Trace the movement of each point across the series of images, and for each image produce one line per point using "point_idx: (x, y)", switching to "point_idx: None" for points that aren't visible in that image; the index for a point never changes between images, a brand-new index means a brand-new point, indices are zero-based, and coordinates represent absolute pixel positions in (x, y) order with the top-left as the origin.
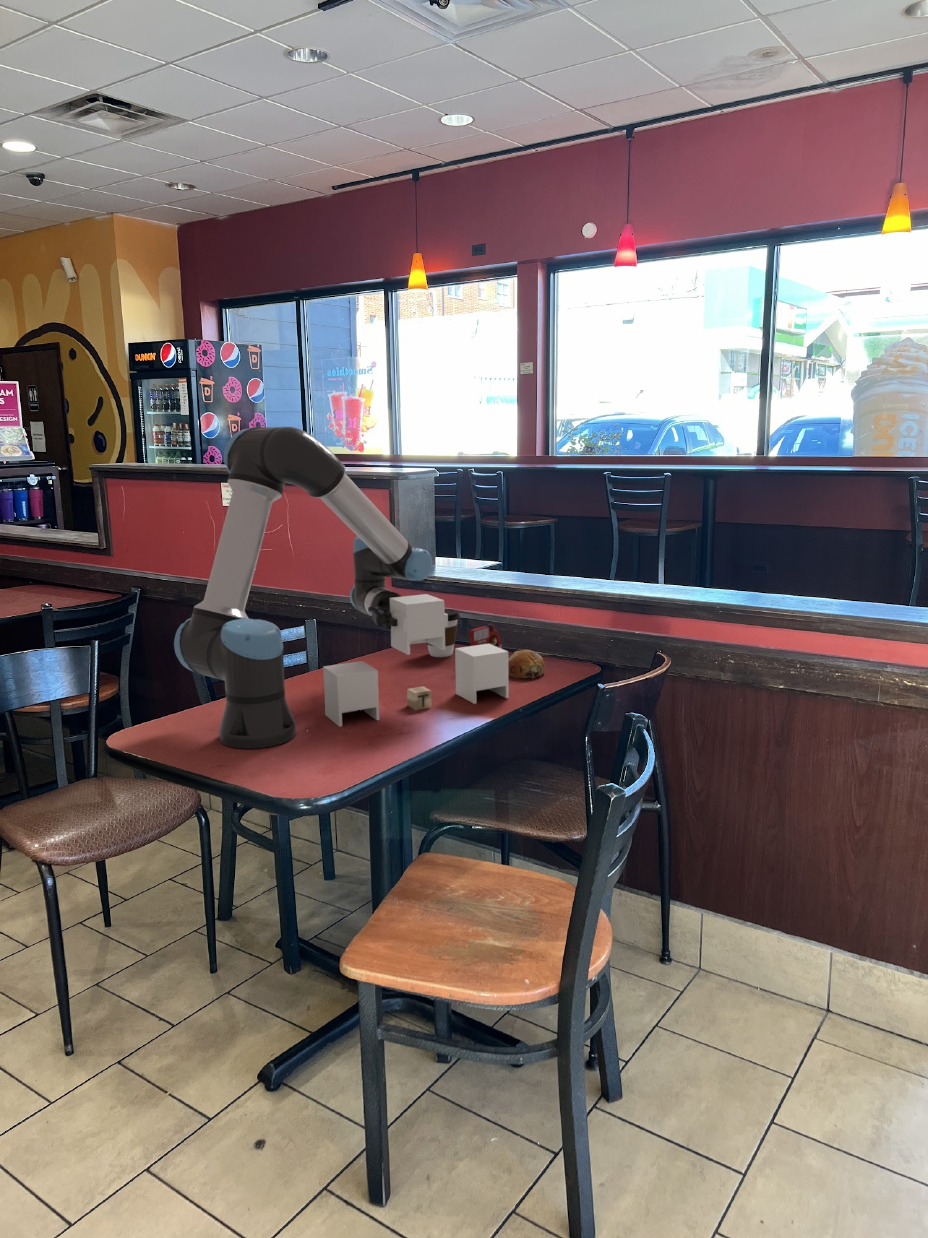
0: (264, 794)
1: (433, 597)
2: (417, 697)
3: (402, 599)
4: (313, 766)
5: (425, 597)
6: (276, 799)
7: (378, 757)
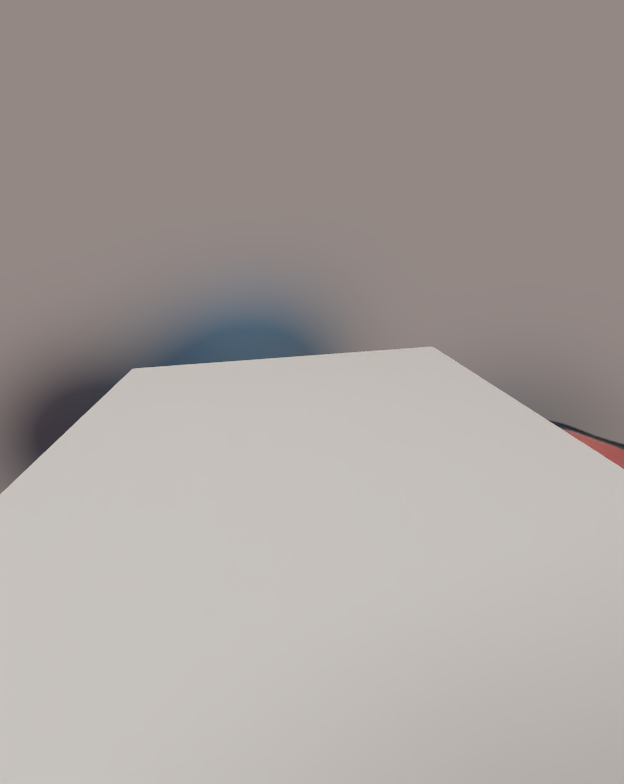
0: (587, 435)
1: (71, 454)
2: None
3: (497, 460)
4: None
5: (146, 479)
6: (562, 426)
7: None
